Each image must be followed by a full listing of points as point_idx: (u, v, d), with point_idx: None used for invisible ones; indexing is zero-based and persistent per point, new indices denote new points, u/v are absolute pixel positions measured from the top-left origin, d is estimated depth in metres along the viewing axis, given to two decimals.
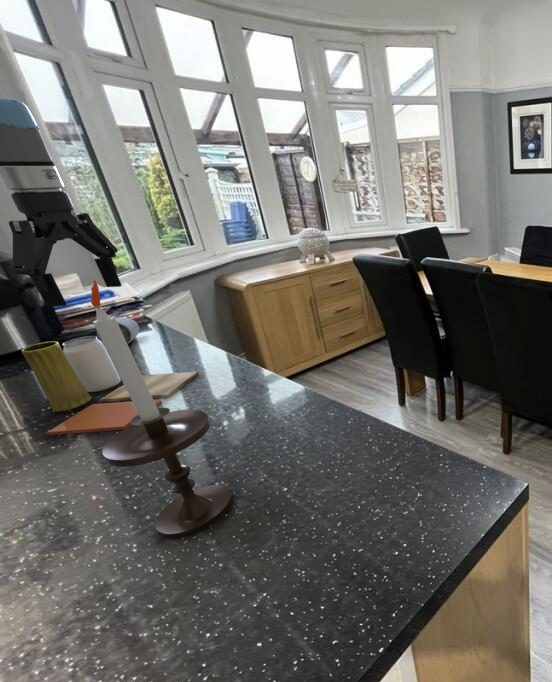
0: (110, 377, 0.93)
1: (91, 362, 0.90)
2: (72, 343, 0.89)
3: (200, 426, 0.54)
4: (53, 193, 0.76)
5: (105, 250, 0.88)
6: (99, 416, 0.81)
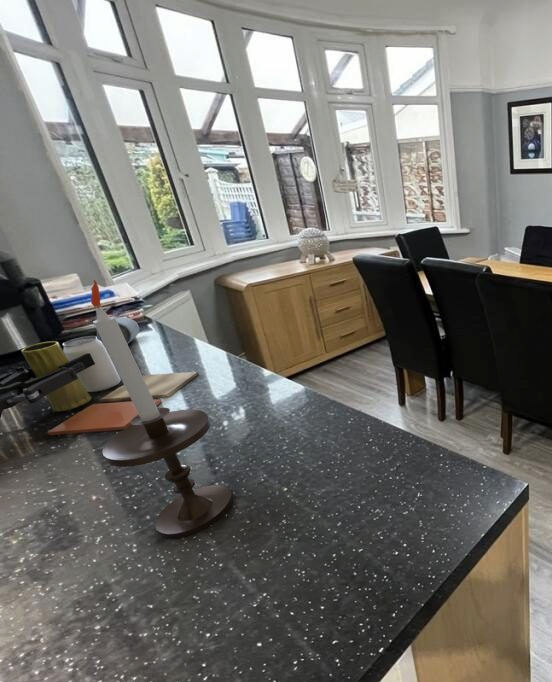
0: (110, 377, 0.93)
1: None
2: (72, 343, 0.89)
3: (200, 426, 0.54)
4: None
5: None
6: (99, 416, 0.81)
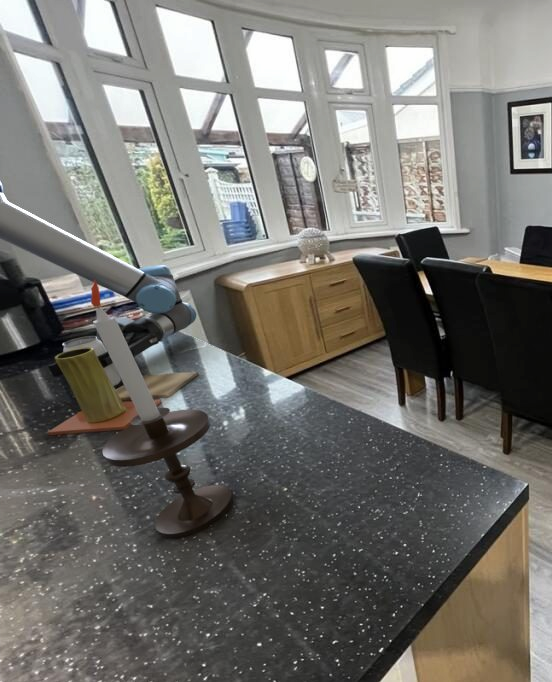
0: (110, 377, 0.93)
1: None
2: (72, 343, 0.89)
3: (200, 426, 0.54)
4: None
5: None
6: None
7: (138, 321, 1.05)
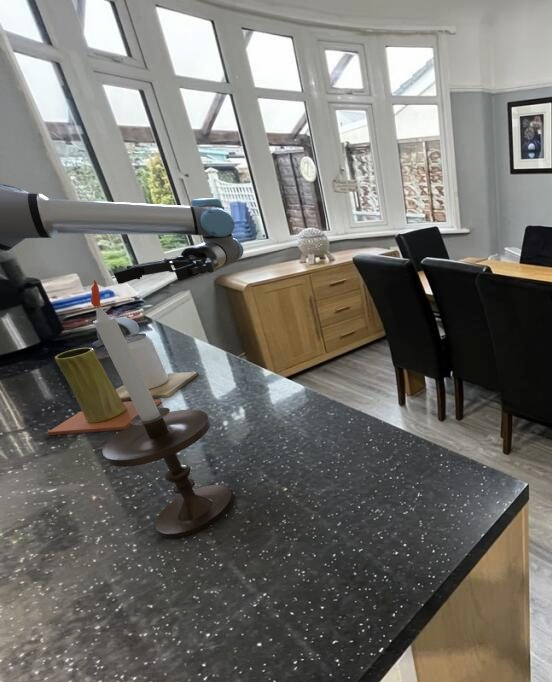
0: (159, 376, 0.91)
1: (142, 360, 0.88)
2: None
3: (200, 426, 0.54)
4: None
5: (144, 274, 1.01)
6: None
7: (195, 246, 1.10)
